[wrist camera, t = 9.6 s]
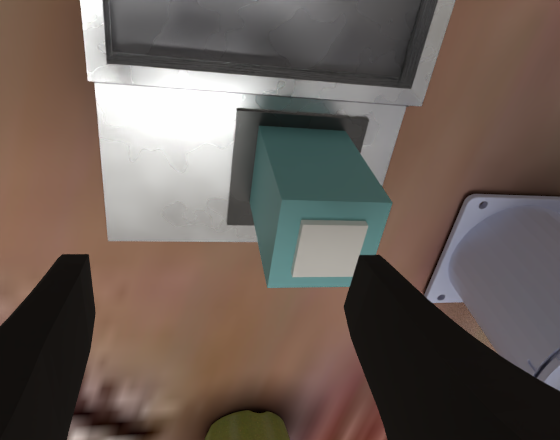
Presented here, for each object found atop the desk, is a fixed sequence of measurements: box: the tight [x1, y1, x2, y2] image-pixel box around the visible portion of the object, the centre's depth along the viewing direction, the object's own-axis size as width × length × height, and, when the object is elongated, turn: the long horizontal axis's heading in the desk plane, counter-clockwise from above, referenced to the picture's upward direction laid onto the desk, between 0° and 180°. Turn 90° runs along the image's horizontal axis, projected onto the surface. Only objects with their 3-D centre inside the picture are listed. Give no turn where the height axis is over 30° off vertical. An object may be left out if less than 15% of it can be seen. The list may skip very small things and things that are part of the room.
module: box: [250, 126, 392, 288], centre depth 19 cm, size 4×4×6 cm
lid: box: [93, 81, 409, 242], centre depth 22 cm, size 13×8×1 cm, turn 82°
